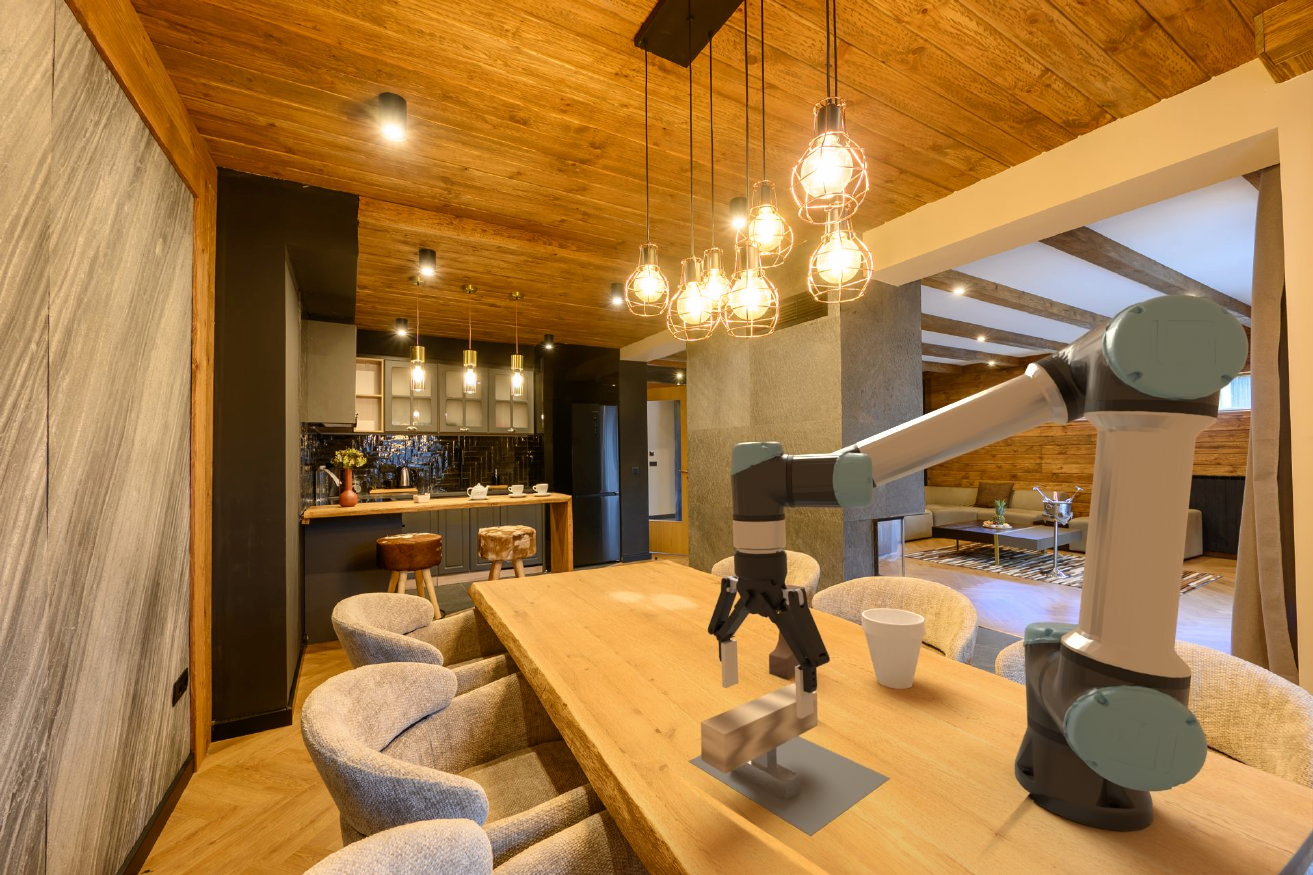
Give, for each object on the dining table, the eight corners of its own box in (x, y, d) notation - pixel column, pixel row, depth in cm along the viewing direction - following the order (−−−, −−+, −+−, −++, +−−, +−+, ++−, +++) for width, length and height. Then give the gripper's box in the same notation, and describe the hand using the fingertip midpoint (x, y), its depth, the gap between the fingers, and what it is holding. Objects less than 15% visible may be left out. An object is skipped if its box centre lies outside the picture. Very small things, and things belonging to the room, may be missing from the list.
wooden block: (787, 680, 118) (785, 594, 118) (768, 675, 121) (767, 591, 121) (807, 668, 124) (805, 586, 125) (789, 663, 127) (787, 584, 128)
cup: (850, 676, 119) (848, 612, 120) (893, 667, 124) (891, 605, 125) (895, 699, 108) (893, 627, 108) (941, 688, 113) (938, 619, 113)
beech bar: (725, 774, 71) (724, 734, 72) (701, 759, 75) (700, 722, 75) (817, 725, 84) (816, 692, 84) (793, 715, 87) (793, 683, 88)
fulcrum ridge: (799, 794, 76) (799, 753, 76) (786, 802, 74) (785, 760, 74) (744, 763, 84) (744, 726, 84) (730, 770, 82) (730, 732, 82)
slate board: (890, 785, 80) (890, 778, 80) (810, 844, 68) (810, 835, 68) (769, 728, 97) (769, 722, 97) (688, 767, 85) (688, 761, 85)
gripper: (852, 555, 73) (859, 720, 72) (716, 538, 92) (720, 668, 91) (818, 562, 68) (825, 739, 67) (682, 543, 88) (687, 681, 87)
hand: (765, 699), depth 79 cm, fingers open, 13 cm apart
